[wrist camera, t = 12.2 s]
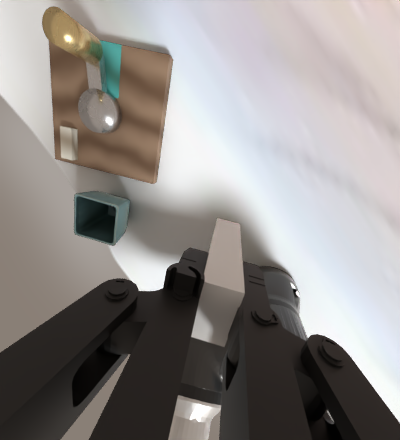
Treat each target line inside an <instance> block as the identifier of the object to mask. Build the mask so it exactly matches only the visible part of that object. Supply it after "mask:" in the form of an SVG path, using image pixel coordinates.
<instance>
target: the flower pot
mask: <svg viewBox="0 0 400 440" xmlns="http://www.w3.org/2000/svg"><path fill="white" fill-rule="evenodd" d="M111 206H113V207H111ZM129 207H130V201H129V200H128V199H125V198H121V197H118V196H114V195H111V194H107V193H104V192H99V191H91V192H84V193H76V194H75V197H74V233H75V235H78V236H82V237H85V238H89V239H92V240H96V241H99V242H102V243H105V244H109V245H112V246H114V245H115V244H116V243H117V242H118V240H119V239H120V238H121V237H122V235H123V234H124V233H125V231H126V228H127V224H128V215H129Z"/></svg>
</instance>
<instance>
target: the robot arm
mask: <svg viewBox="0 0 400 440" xmlns="http://www.w3.org/2000/svg"><path fill="white" fill-rule="evenodd" d="M299 309H300V295H299V291H298V289H297V286H296V284H295V282H294V281H293V279H292V278H291V277H290V276H289V275H288V274H287V273H285V272H283V271H282V270H279V269H277V268H273V267H266V266H262V267H258V266H257V265H254V264H250V263H247V262H243V259H242V245H241V230H240V224H239V223H235V222H231V221H227V220H223V219H219V218H217V221H216V225H215V229H214V232H213V236H212V240H211V244H210V247H209V251H208V252H204V251H200V250H197V249H193V248H189V249H187V250H186V251H184V253H183V255H182V257H181V259H180V261H179V263H175V264H173V265H170V266H169V267H168V269H167V271H166V276H165V282H164V287H163V289H160V290H157V291H138V288H137V286H136V284H135V283H133V282H132V281H130V280H126V279H112V280H108V281H106V282H104V283H102V284H100V285H99V286H97V287H96V288H94V289H93V290H92V291H90V292H89V293H87V294H86V295H84V296H83V297H82V298H80V299H78V300H77V301H76V302H74V303H72V304H71V305H70V306H68V307H67V308H65V309H64V310H62V311H61V312H59V313H58V314H56V315H55V316H53V317H52V318H51V319H49V320H48V321H46V322H45V323H43V324H42V325H40V326H39V327H37V328H36V329H35V330H33V331H31V332H30V333H28V334H27V335H26V336H24V337H23V338H21V339H20V340H18V341H17V342H15V343H14V344H12V345H11V346H9V347H8V348H6V349H5V350H4V351H2V352H1V353H0V440H60V439H61V438H62V437H63V436H64V434H65V433H66V432H67V431H68V429H69V428H70V427H71V426H72V424H73V423H74V422H75V421H76V419H77V418H78V417H79V416H80V414H81V413H82V412H83V411H84V409H85V408H86V407H87V406H88V404H89V403H90V402H91V401H92V399H93V398H94V397H95V396H96V395H97V393H98V392H99V391H100V389H101V388H102V387H103V386H104V384H105V383H106V382H107V381H108V380H109V378H110V377H111V375H112V374H113V373H114V372H115V371H116V370H117V368H118V367H119V366H120V365H121V363H122V362H123V361H124V359H125V358H126V357H127V356H128V354H131V355H130V357H129V359H128V361H127V363H126V365H125V367H124V369H123V372H122V373H121V376H120V377H119V379H118V381H117V384H116V385H115V387H114V390H113V392H112V394H111V396H110V398H109V400H108V402H107V404H106V406H105V408H104V410H103V412H102V414H101V416H100V418H99V420H98V422H97V424H96V426H95V428H94V430H93V432H92V434H91V437H90V438H89V440H208V438H209V430H210V423H211V420H212V418H213V417H214V416H215V415H216V414H217V413H218V412H219V411H220V410H221V416H220V434H219V440H400V423H399V422H398V420H397V419H396V418H395V416H394V415H393V414H392V412H391V411H390V410H389V408H388V407H387V405H386V404H385V403H384V401H383V400H382V399H381V397H380V396H379V395H378V393H377V392H376V391H375V389H374V388H373V387H372V385H371V384H370V383H369V381H368V380H367V379H366V377H365V376H364V375H363V373H362V372H361V371H360V369H359V368H358V366H357V365H356V364H355V362H354V361H353V360H352V358H351V357H350V356H349V355H348V354H347V352H346V351H345V350H344V349H343V348H342V347H341V346H339V345H338V344H337V343H336V342H334V341H333V340H331V339H329V338H327V337H325V336H322V335H318V334H316V335H311V336H310V337H309V338H307V335H306V333H305V330H304V327H303V325H302V322H301V320H300V317H299ZM327 410H328V411H329V413H330V415H331V417H332V418H333V420H334V422H333V421H332V420H331V418H330V416H329V415H328V413H327Z"/></svg>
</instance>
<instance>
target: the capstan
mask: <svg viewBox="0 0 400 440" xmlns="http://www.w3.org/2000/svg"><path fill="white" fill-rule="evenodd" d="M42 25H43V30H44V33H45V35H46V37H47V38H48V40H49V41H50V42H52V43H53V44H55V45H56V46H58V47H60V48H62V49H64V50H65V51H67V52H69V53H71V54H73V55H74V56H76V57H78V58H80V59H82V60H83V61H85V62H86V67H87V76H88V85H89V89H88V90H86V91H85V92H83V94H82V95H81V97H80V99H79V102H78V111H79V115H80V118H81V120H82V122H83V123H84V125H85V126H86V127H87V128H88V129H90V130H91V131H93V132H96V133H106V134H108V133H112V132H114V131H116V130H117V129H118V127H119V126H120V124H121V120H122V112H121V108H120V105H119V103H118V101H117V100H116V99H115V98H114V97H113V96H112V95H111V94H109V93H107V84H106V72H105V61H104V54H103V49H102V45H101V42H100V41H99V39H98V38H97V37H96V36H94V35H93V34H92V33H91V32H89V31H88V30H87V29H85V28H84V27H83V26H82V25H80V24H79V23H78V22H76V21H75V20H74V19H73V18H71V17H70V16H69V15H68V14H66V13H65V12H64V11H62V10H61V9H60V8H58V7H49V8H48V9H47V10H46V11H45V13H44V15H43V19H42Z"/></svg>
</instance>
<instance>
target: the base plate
mask: <svg viewBox="0 0 400 440" xmlns="http://www.w3.org/2000/svg"><path fill="white" fill-rule="evenodd" d="M99 41H100V42H101V45H102V49H103V54H104V61H105V72H106V84H107V93H109V94H111V95H112V96H113V97H114V98H115V99H116V100H117V101H118V103H119V105H120V108H121V112H122V120H121V124H120V126H119V127H118V129H117V130H116V131H114V132H112V133H108V134H106V133H96V132H93V131H91V130H90V129H88V128H87V127H86V126H85V125H84V123H83V122H82V120H81V118H80V115H79V111H78V102H79V99H80V97H81V95H82V94H83V92H85V91H86V90H88V89H89V85H88V76H87V67H86V62H85V61H83V60H82V59H80V58H78V57H76V56H74V55H73V54H71V53H69V52H67V51H65V50H64V49H62V48H60V47H58V46H56V45H55V44H53V43H52V42H50V41H49V49H50V67H51V86H52V105H53V124H54V143H55V159H57V160H61V161H65V162H69V163H73V164H77V165H81V166H85V167H89V168H93V169H96V170H100V171H104V172H108V173H112V174H116V175H120V176H124V177H128V178H132V179H136V180H140V181H144V182H147V183H151V184H154V183H156V182H157V175H158V168H159V161H160V153H161V146H162V138H163V131H164V124H165V116H166V109H167V101H168V94H169V87H170V79H171V72H172V64H173V59H172V57H171V56H170V55H168V54H163V53H158V52H153V51H148V50H143V49H139V48H134V47H129V46H124V45H120V44H115V43H111V42H106V41H101V40H99Z"/></svg>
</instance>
